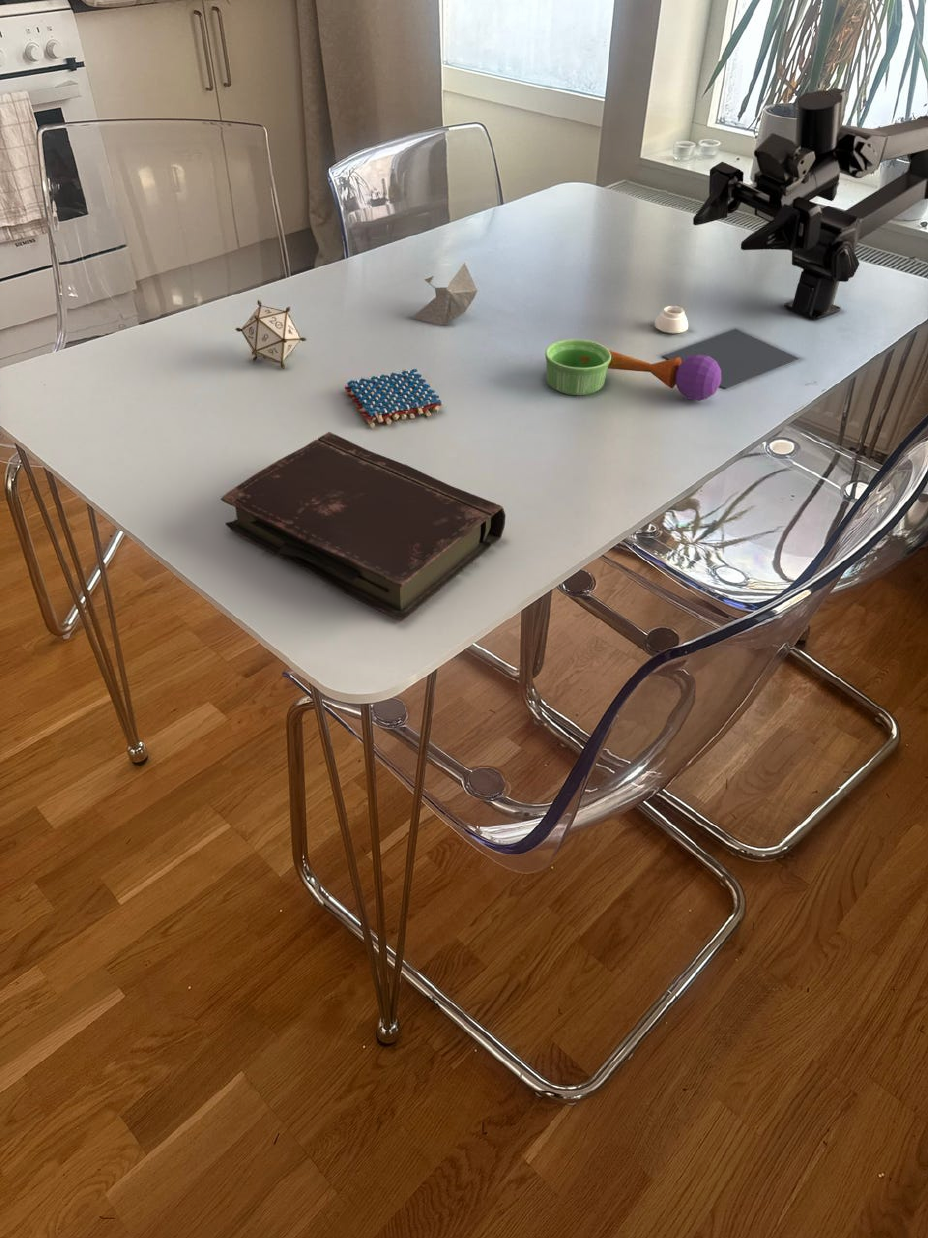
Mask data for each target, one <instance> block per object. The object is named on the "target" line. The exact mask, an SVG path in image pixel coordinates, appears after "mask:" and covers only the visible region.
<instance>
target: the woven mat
mask: <svg viewBox="0 0 928 1238" xmlns="http://www.w3.org/2000/svg"><path fill="white" fill-rule="evenodd" d="M417 372H418V369H417V368H412V369H411V370H404V369H403V370H402V371H400V372H398V373H396V372H393V371H391V373H388V374H383V373H382V374H381V375H377V376H375V375H372V376H371V377H368V378H364V377H361V378H360V379H356V380H354V379H351V380H350V381H347V382H346V384H347V385H346V386H344V389H345V391H346V393H347V397H349V398H351V401H352V403H354V404H355V406H356V407H357V409H358V410H359V414H361V415H362V416H363V418H364V420H366V422H367V423H368V425H369V426H370V427H371V428H372V429H373V428H374V427H376V423H375V422H378V423H379V424H380V423H383V422H384V421H385V423H386V424H387V425H388V426H389V425H392V422H393V421H392V419H393V420H395V421H396V420H398V419H399V418H400V417H401V419H402V420H406V419H407V416H408V417H409V419H414V418H415V416H416V415H422V414H425V416H426V417H430V416H432V414H431V412H430V410H429V409H431V410H432V411H433V412H435V413H437V412H438V411H439V409H440V407H441V406H442V401H441V400H440V399H439V398H440V396H439V395H437V394H435V389H431V385H430V384H427V383H426V381H427V380H426V379H425V378H422V374H421V373H417ZM415 414H416V415H415ZM390 417H391V418H390ZM374 421H375V422H374Z"/></svg>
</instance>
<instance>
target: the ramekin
mask: <svg viewBox="0 0 928 1238" xmlns="http://www.w3.org/2000/svg"><path fill="white" fill-rule="evenodd" d="M609 350H610V349H608V348H607V347H606V346H604V345H603V344H601V343H598V342H596V341H592V340H588V339H582V338H581V339H580V338H569V339H568V338H567V339H562V340H557V341H555V342H553V343H551V344H549V345H548V346H547V347H546V349H545V351H544V356H545V360H546V362H545V363H546V382H547V383H548V385H549V386H550V387H551V388H552V389H554V390H555V391H557V392H559V393H561V394H565V395H569V396H587V395H591V394H594V393H596V392H599V391H600V390H601V389H602V388H603V387H604V385H605V382H606V378H607V373H608V370H609V369H608V365H609V363H610V360H611V354H610V352H609ZM581 357H588V358H589V362H588V363H584V362H581V361H580V360H581Z"/></svg>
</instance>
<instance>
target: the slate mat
mask: <svg viewBox="0 0 928 1238" xmlns="http://www.w3.org/2000/svg"><path fill="white" fill-rule="evenodd" d="M698 354H699V355H705V356H710V357H711V358H712V359H714V360H715V361H716V362H717V364H718V365H719V367H720V369H721V383H720V386H719V387H720V388H722V389H724V390H726V389H728V388H730V387H734V386H735V385H738V384H741V383H743V382H746V381H748V380H750V379H752V378H755V377H757V376H760V375H762V374H765V373H768V372H770V371H773V370H774V369H778V368H779V367H782V366H784V365H787V364H789V363H792V362H794V361H797V360H799V357H797V356H796V355H793V354H791V353H788V352H786V351H785V350H782V349H780V348H778V347H775V346H773V345H771V344H769V343H767V342H765V341H762V340H760V339H758V338H756V337H754V336H752V335H750V334H748V333H745V332H744V331H741V330H739V329H736V328H734V329H730V330H729V331H727V332H724V333H721V334H718V335H715V336H712V337H710V338H708V339H707V338H706V339H705V340H702V341H699V342H696V343H694V344H691V345H688V346H686V347H683V348H680V349H677V350H674V351H672V352H670V353H666V354H663V355H662V358H664V359H665V360H669V359H673V358H677V357H680V359H681V363H682V362H683V361H684V360H685V359H687V358H688V357H689V356H693V355H698Z"/></svg>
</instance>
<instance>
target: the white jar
mask: <svg viewBox="0 0 928 1238" xmlns="http://www.w3.org/2000/svg"><path fill="white" fill-rule="evenodd" d="M654 327H655V329H657V330H659V331H660V332H663V333H666V334H681V333H684V332H686V331H687V330H688V329H689V322H688V318H687V315H686V314H685V309H684V308H682V307H681V306H678V305H677V306H676V305H668V306H665V307H664V308H663V310H662V311H661V312H660V313H659V315H658V316H657V318H656V319H655V321H654Z"/></svg>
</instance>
